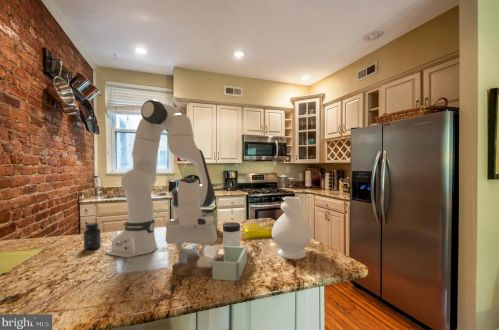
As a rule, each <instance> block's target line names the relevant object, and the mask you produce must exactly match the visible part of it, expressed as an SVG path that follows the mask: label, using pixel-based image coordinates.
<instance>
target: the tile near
mask: <svg viewBox="0 0 499 330" xmlns="http://www.w3.org/2000/svg"><path fill="white" fill-rule="evenodd" d="M213 261H215V256H208V255H202V256H201V257H200V259H199V260H198V267H211V266H212V262H213Z"/></svg>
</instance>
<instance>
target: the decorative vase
mask: <svg viewBox="0 0 499 330" xmlns="http://www.w3.org/2000/svg"><path fill="white" fill-rule="evenodd" d="M282 200H283V202H282V203H281V204H280V210H282V211H283V213H282V215H280V216H279V217H278V219H277V220H275V222H274V224H273V226H272V227H271V229H272V239H273V241H274V243H275V244H276V245H277V246H278V247H279V249H278V250H277V255H278V256H280V257H281V258H283V259H288V260H300V259H304V258H306V256H307V252H306V250H305V249H306V248H307V247H308V245H309V244H310V242H311V241H312V238H313V231H312V227H311V225H310V224H309V222H307V220H306V219H305V218H304V217H303V215H301V214H300V211H302V209H303V206H302V203H301V202H299V201H301V200H300V197H298V196H284V197H282Z"/></svg>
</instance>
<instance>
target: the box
mask: <svg viewBox="0 0 499 330" xmlns="http://www.w3.org/2000/svg"><path fill="white" fill-rule="evenodd" d="M223 254H224V261H223V262H222V261H213V262H212V273H213V277H212V280H217V281H218V280H219V281H229V282H231V281H233V282H235V281H236V282H240V280H241V277H242V275H243V273H244V269H245V268H246V265H247V263H248V247H247V246H240V247H236V246H224V251H223Z"/></svg>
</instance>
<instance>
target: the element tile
mask: <svg viewBox="0 0 499 330" xmlns="http://www.w3.org/2000/svg"><path fill="white" fill-rule="evenodd" d="M242 231H243V235H244V237H245V238H246V239H258V238H259V239H260V238H271V237H272V227H271V226H270V225H269V224H268V223H266V222H261V223H246V224H243V225H242ZM272 238H273V237H272Z"/></svg>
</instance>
